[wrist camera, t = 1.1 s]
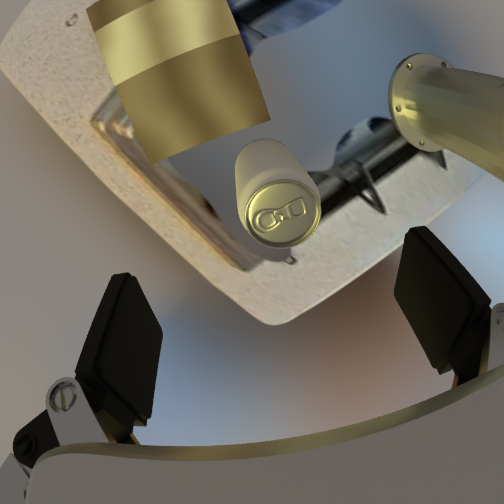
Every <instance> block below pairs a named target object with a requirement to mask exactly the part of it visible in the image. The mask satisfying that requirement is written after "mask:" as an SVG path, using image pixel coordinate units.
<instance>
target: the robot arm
mask: <svg viewBox="0 0 504 504" xmlns="http://www.w3.org/2000/svg"><path fill="white" fill-rule="evenodd" d="M388 103H389V110H390V114H391V117H392V120H393V122H394V125H395V127H396V129H397V130H398V131H399V133H400V134H401V136H402V137H403V138H404V139H405V140H406V141H407V142H409V143H410V144H412V145H413V146H415V147H417V148H419V149H421V150H425V151H439V150H443V149H445V148H446V149H448V150H450V151H452V152H454V153H456V154H457V155H459V156H461V157H463V158H465V159H467V160H468V161H470V162H472V163H474V164H475V165H477V166H479V167H480V168H482V169H484V170H485V171H487V172H489V173H491V174H492V175H494V176H495V177H497V178H498V179H500V180H501V181H503V182H504V78H501V77H498V76H493V75H488V74H483V73H478V72H473V71H467V70H461V69H454V68H453V66H451V65H450V64H449V63H448V62H447V61H446V60H444V59H442V58H441V57H439V56H436V55H433V54H427V53H417V54H414V55H410V56H408V57H407V58H405V59H404V60H402V61H401V63H399V64H398V65H397V67H396V69H395V70H394V72H393V74H392V77H391V80H390V83H389V89H388ZM395 108H396V109H395ZM394 296H395V299H396V301H397V302H398V304H399V306H400V308H401V309H402V311H403V313H404V315H405V316H406V318H407V320H408V322H409V323H410V325H411V327H412V329H413V330H414V333H415V334H416V336H417V338H418V340H419V342H420V344H421V346H422V348H423V349H424V351H425V353H426V355H427V357H428V359H429V361H430V363H431V365H432V367H433V368H437V370H438V373H439V374H440V375H441V374H443V373H445V372H448V371H450V370H452V369H453V371H454V373H455V375H454V380H453V384H452V388H451V390H448V391H446V392H444V393H442V394H439V395H437V396H435V397H432V398H430V399H428V400H425V401H423V402H420V403H418V404H415V405H412V406H409V407H407V408H404V409H401V410H398V411H395V412H392V413H389V414H386V415H384V416H380V417H377V418H374V419H370V420H367V421H363V422H360V423H356V424H353V425H349V426H345V427H341V428H337V429H333V430H328V431H324V432H319V433H315V434H309V435H304V436H299V437H292V438H286V439H279V440H273V441H265V442H256V443H246V444H235V445H218V446H150V445H148V446H147V445H140V443H139V442H138V440H137V439H136V437H135V436H134V434H133V426H146V425H147V419H149V418H150V417H151V414H152V406H153V398H154V390H155V383H156V376H157V369H158V363H159V356H160V350H161V344H162V338H163V333H162V329H161V326H160V324H159V323H158V321H157V319H156V317H155V315H154V313H153V311H152V309H151V307H150V305H149V303H148V301H147V299H146V297H145V295H144V293H143V291H142V289H141V287H140V285H139V283H138V280H137V278H136V277H135V276H131V274H129V273H121V274H114V275H113V276H112V277H111V279H110V281H109V284H108V286H107V288H106V290H105V293H104V295H103V298H102V300H101V302H100V305H99V307H98V309H97V312H96V315H95V317H94V319H93V322H92V325H91V327H90V330H89V332H88V335H87V338H86V340H85V343H84V346H83V349H82V352H81V354H80V357H79V360H78V363H77V366H76V370H75V373H76V376H75V379H74V378H70V377H64V378H61V379H59V380H57V381H56V382H55V383H54V384H52V386H51V387H50V388H49V390H48V393H47V395H46V408H47V409H46V410H45V411H44V412H42V413H41V414H39V415H38V416H37V417H36V418H34V419H33V420H32V421H31V422H29V423H28V424H27V425H26V426H24V427H23V428H22V429H20V431H19V432H18V433H17V434H16V436H15V438H14V441H13V452H14V454H12V453H10V454H9V456H8V457H7V459H6V460H5V462H4V463H3V465H2V466H1V468H0V504H504V303H499V304H496V305H495V306H494V307H493V308H492V309H491V308H490V307H489V305H490V303H491V299H490V298H489V297H488V295H487V294H486V293H485V292H484V290H483V289H482V288H481V287H480V285H479V284H478V283H477V282H476V280H475V279H474V278H473V277H472V276H471V274H469V272H468V271H467V270H466V269H465V267H464V266H463V265H462V264H461V263H460V262H459V261H458V260H457V258H456V257H455V256H454V255H453V254H452V253H451V252H450V251H449V250H448V249H447V248H446V246H445V245H444V244H443V243H442V242H441V241H440V240H439V239H438V238H437V237H436V236H435V235H434V234H433V233H432V232H431V231H430V230H429V229H428V228H427V227H426V226H418V227H412V228H410V229H409V231H408V232H407V233H406V234H405V238H404V244H403V249H402V255H401V260H400V265H399V270H398V274H397V279H396V283H395V288H394Z"/></svg>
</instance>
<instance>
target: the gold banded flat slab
mask: <svg viewBox="0 0 504 504" xmlns="http://www.w3.org/2000/svg"><path fill="white" fill-rule="evenodd" d="M86 11H87V14H88V17H89V20H90V22H91V25H92V28H93V31H94V34H95V37H96V40H97V42H98V45H99V47H100V50H101V53H102V55H103V58H104V60H105V63H106V65H107V68H108V70H109V73H110V75H111V78H112V80H113V82H114V85H115V86H116V89H117V91H118V93H119V96H120V98H121V100H122V103H123V105H124V107H125V110H126V112H127V114H128V117H129V119H130V121H131V123H132V126H133V128H134V130H135V132H136V134H137V137H138V139H139V141H140V143H141V145H142V147H143V150H144V152H145V154H146V156H147V158H148V160H149V162H150V164H151V165H152V164H154V163H156V162H158V161H161V160H163V159H165V158H167V157H170V156H172V155H174V154H177V153H179V152H182V151H184V150H187V149H189V148H192V147H194V146H197V145H199V144H202V143H204V142H207V141H210V140H213V139H215V138H218V137H221V136H224V135H226V134H229V133H232V132H235V131H238V130H241V129H244V128H247V127H250V126H253V125H256V124H260V123H263V122H266V121H269V120H271V119H270V116H269V114H268V111H267V107H266V105H265V101H264V99H263V96H262V93H261V90H260V87H259V84H258V81H257V79H256V76H255V73H254V70H253V68H252V65H251V62H250V59H249V57H248V54H247V51H246V49H245V46H244V43H243V41H242V38H241V36H240V33H239V30H238V28H237V25H236V23H235V20H234V18H233V15H232V13H231V10H230V8H229V6H228V3H227V1H226V0H100V1H98V2H96V3H95V4H93V5H92V6H90V7H88V8H87V9H86Z"/></svg>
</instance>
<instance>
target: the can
mask: <svg viewBox="0 0 504 504" xmlns="http://www.w3.org/2000/svg"><path fill="white" fill-rule="evenodd" d="M235 179H236V194H237V204H238V205H237V206H238V213H239V216H240V219H241V222H242V224H243V225H244V227H245V228H246V229H247V231H248V232H249V234H250V235H251V236H252V238H253V239H255V240H256V241H257V242H258V243H260V244H262V245H264V246H266V247H270V248H274V249H284V248H291V247H294V246H297V245H299V244H301V243H303V242H304V241H306V240H307V239H308V238H309V237H310V236H311V235H312V234H313V233H314V231H315V230H316V228H317V227H318V224H319V222H320V218H321V205H320V195H319V191H318V189H317V187H316V185H315V183H314V182H313V180H312V179H311V177H310V176H309V174H308V173H307V172H306V170H305V169H304V168H303V166H302V165H301V164H300V163H299V161H298V160H297V159H296V157H295V156H294V155H293V154H292V152H291V151H290V150H289V149H288V148H287V147H286V146H285V145H283V144H282V143H281V142H279V141H276V140H272V139H259V140H255V141H253V142H251V143H249V144H247V145H246V146H245V147H244V148H243V149H242V150H241V151H240V153H239V155H238V157H237V159H236V164H235Z"/></svg>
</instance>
